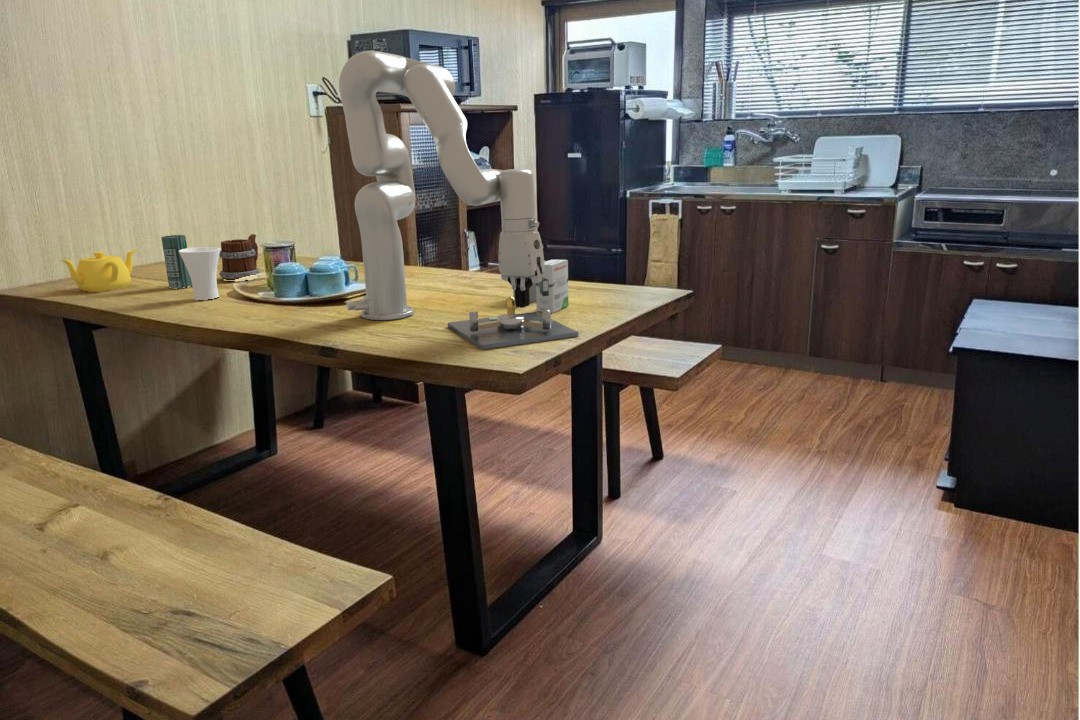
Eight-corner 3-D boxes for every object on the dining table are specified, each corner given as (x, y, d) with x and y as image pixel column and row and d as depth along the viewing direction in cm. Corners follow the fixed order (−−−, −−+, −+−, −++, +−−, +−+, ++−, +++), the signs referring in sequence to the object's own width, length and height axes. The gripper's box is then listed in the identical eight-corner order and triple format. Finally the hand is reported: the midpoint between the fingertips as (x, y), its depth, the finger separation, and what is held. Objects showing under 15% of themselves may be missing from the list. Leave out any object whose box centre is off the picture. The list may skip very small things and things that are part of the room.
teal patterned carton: (196, 285, 234) (189, 235, 229) (183, 289, 228) (175, 237, 224) (179, 285, 235) (171, 234, 231) (165, 288, 229) (157, 237, 225)
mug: (209, 281, 238) (208, 231, 236) (240, 281, 252) (240, 233, 250) (241, 283, 235) (241, 232, 233) (271, 282, 248) (271, 234, 246)
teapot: (82, 298, 219) (74, 259, 216) (56, 292, 228) (48, 255, 225) (157, 285, 236) (151, 249, 233) (130, 280, 245) (125, 245, 242)
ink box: (552, 304, 199) (551, 258, 196) (569, 306, 196) (569, 259, 193) (535, 311, 192) (534, 263, 188) (553, 313, 189) (552, 264, 186)
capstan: (551, 330, 168) (550, 309, 166) (469, 333, 167) (468, 311, 166) (548, 314, 182) (548, 294, 181) (473, 316, 182) (472, 296, 181)
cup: (221, 293, 222) (215, 245, 218) (231, 299, 213) (224, 249, 210) (182, 298, 216) (174, 249, 212) (190, 304, 208) (183, 253, 204)
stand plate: (482, 349, 159) (482, 344, 159) (447, 326, 178) (447, 321, 178) (578, 336, 168) (578, 330, 167) (535, 315, 187) (535, 310, 187)
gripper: (555, 225, 173) (558, 306, 178) (502, 223, 182) (506, 300, 187) (536, 229, 168) (539, 312, 173) (482, 226, 176) (487, 306, 181)
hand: (522, 306), depth 180 cm, fingers closed
